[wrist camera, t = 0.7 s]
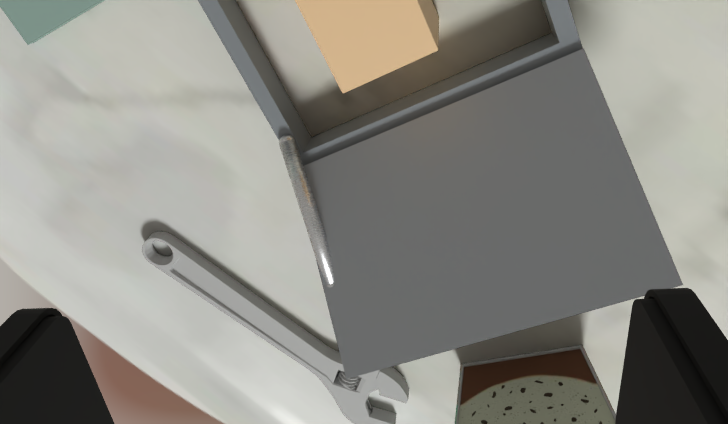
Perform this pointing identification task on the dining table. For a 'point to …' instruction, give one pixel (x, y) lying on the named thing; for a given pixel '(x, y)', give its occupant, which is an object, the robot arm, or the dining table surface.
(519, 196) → the equipment case
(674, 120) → the dining table surface
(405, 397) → the adjustable wrench
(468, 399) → the food container
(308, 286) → the dining table surface
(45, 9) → the rubber mat
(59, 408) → the robot arm
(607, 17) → the dining table surface
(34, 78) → the dining table surface
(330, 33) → the block
